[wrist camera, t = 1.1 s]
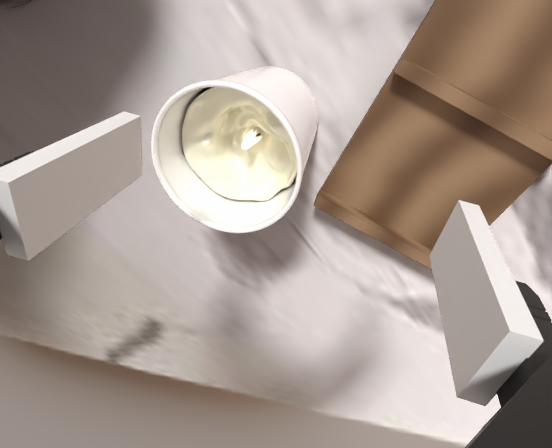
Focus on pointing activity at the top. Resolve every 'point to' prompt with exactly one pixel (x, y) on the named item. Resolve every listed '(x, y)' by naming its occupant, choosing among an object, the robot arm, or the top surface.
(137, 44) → the top surface
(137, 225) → the top surface
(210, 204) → the candle holder
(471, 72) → the brown wooden flat tray
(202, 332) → the top surface
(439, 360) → the top surface
